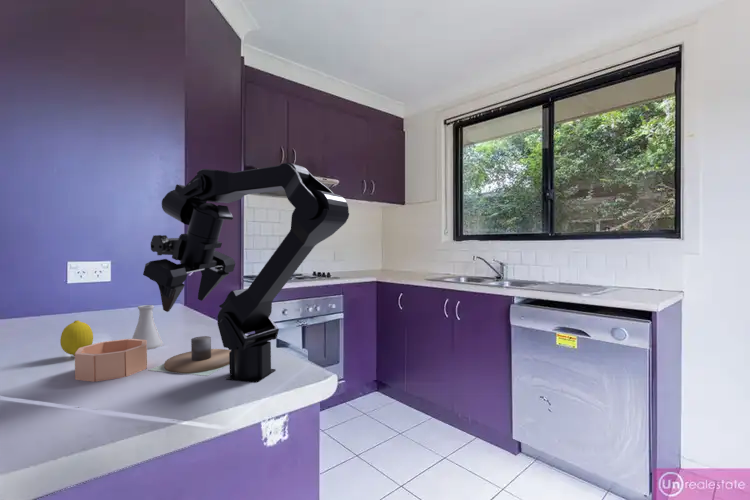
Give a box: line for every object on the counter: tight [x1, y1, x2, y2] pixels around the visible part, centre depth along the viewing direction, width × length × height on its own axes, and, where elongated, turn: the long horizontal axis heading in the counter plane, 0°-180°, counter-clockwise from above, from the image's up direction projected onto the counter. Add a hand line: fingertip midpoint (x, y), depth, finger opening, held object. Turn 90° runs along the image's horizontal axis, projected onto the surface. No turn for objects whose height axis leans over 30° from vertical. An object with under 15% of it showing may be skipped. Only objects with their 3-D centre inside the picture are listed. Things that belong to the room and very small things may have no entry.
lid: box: [163, 335, 231, 374], centre depth 74 cm, size 13×13×5 cm
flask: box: [131, 304, 165, 351], centre depth 86 cm, size 7×7×10 cm
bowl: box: [74, 338, 148, 382], centre depth 70 cm, size 11×11×5 cm
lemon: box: [59, 320, 94, 357], centre depth 80 cm, size 6×6×8 cm
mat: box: [148, 363, 229, 377], centre depth 74 cm, size 13×13×1 cm
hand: (184, 305), depth 75 cm, fingers open, 9 cm apart
